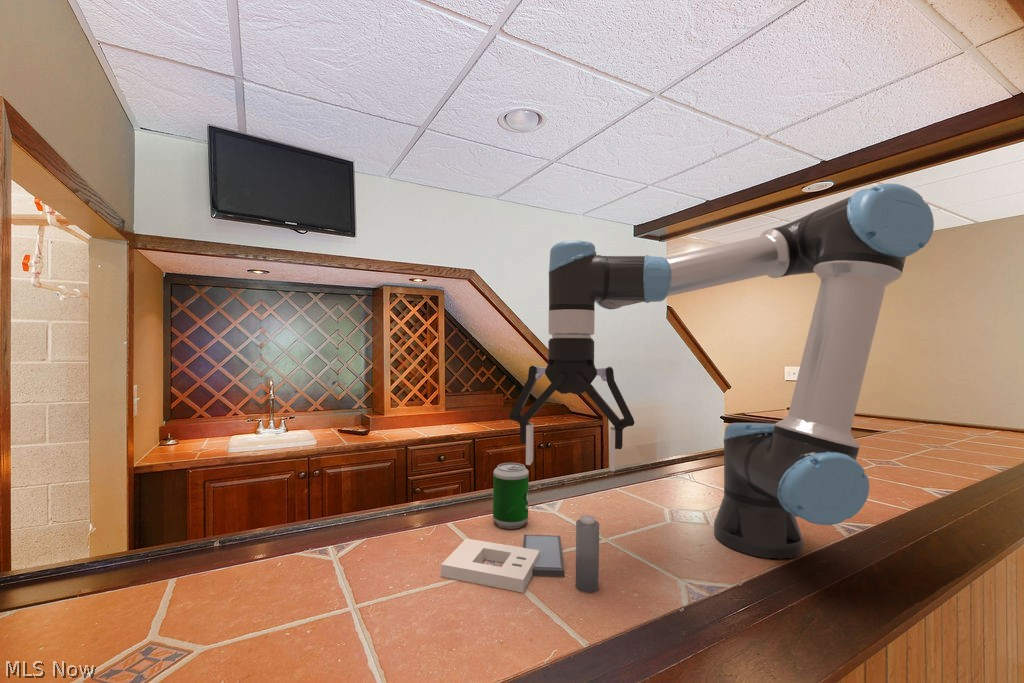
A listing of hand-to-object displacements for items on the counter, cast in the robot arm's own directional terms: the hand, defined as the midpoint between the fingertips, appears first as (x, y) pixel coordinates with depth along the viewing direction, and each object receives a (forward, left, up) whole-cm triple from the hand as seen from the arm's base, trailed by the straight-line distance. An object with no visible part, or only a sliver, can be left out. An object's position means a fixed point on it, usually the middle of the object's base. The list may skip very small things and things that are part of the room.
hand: (570, 466), depth 72 cm
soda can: (+16, -17, -18) cm, 29 cm away
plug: (-3, +2, -18) cm, 18 cm away
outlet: (+13, +2, -18) cm, 22 cm away
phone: (+6, -5, -18) cm, 19 cm away
